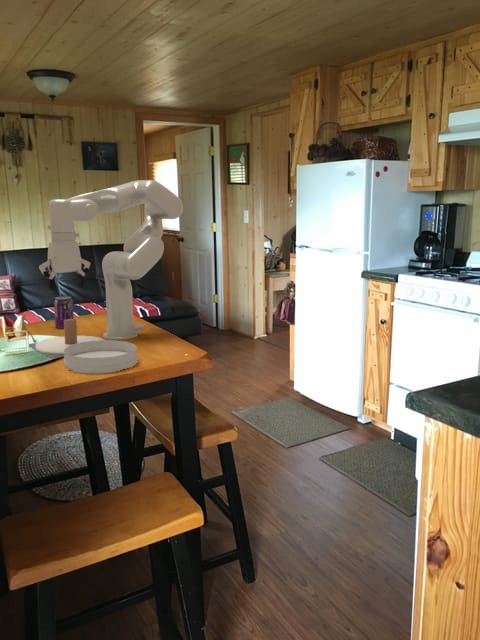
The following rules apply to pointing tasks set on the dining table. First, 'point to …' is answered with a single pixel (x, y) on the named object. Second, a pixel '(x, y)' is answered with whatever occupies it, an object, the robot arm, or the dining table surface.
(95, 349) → the dish
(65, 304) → the beverage can
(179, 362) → the dining table surface
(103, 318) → the dining table surface
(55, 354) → the mat
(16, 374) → the dining table surface
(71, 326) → the lid
